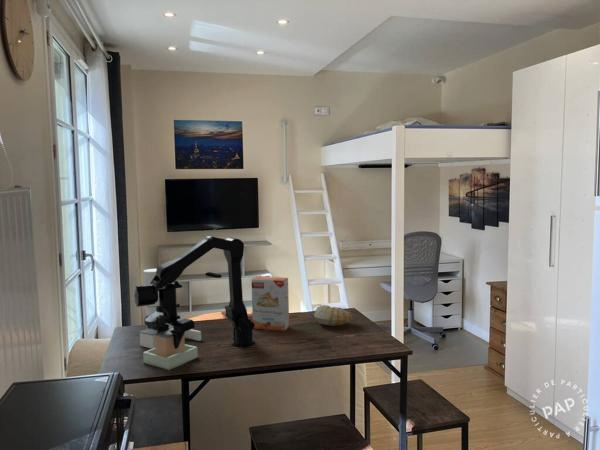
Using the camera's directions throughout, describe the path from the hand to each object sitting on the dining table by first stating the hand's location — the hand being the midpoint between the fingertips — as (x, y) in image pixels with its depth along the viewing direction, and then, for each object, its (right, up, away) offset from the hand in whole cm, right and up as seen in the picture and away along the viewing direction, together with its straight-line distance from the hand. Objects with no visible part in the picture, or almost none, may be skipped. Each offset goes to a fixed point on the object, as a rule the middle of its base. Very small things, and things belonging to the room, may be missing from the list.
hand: (170, 346), depth 158 cm
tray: (0, -5, 0) cm, 5 cm away
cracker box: (+32, -1, +32) cm, 45 cm away
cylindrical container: (-15, -2, +33) cm, 36 cm away
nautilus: (+57, 0, +37) cm, 68 cm away
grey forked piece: (-3, -3, +19) cm, 20 cm away
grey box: (0, -2, 0) cm, 2 cm away
